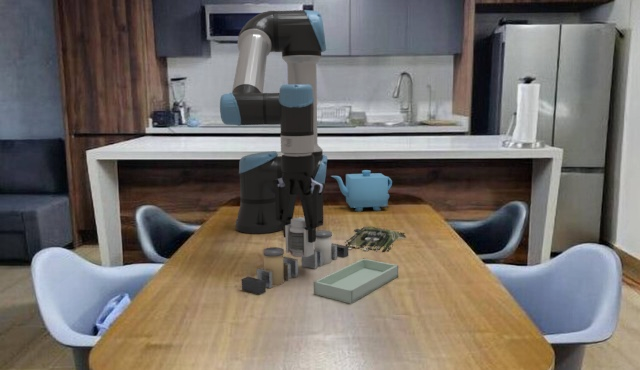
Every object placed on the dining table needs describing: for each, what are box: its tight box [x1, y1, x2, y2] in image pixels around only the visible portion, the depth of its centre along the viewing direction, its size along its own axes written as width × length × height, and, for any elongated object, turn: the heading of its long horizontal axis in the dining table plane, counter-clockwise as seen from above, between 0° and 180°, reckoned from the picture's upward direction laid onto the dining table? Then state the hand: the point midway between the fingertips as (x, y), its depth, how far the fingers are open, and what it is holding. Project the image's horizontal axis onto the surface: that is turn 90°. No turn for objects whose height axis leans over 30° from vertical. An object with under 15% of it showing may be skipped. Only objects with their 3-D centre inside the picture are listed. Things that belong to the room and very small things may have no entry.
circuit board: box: [340, 226, 407, 253], centre depth 151 cm, size 25×18×4 cm
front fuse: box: [262, 246, 285, 287], centre depth 117 cm, size 4×4×7 cm
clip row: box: [241, 242, 349, 296], centre depth 125 cm, size 5×33×4 cm, turn 143°
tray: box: [313, 258, 399, 304], centre depth 115 cm, size 9×19×3 cm, turn 143°
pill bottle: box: [289, 216, 306, 258], centre depth 124 cm, size 5×5×8 cm
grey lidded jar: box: [314, 229, 333, 265], centre depth 131 cm, size 4×4×7 cm
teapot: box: [330, 169, 393, 213], centre depth 190 cm, size 22×11×14 cm, turn 96°
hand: (299, 253), depth 125 cm, fingers closed on pill bottle, 5 cm apart
